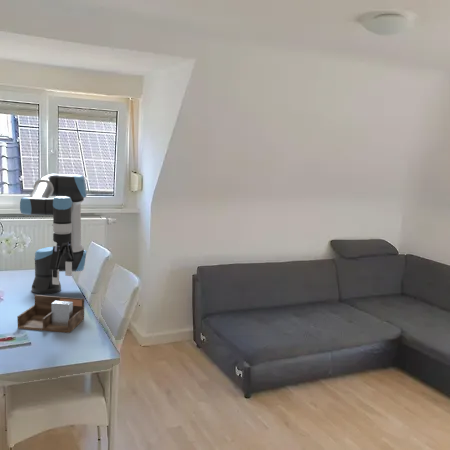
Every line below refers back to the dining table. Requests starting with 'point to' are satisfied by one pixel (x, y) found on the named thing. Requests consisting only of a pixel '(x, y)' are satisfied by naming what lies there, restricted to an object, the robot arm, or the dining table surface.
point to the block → (61, 312)
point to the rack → (50, 314)
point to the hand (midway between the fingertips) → (62, 279)
